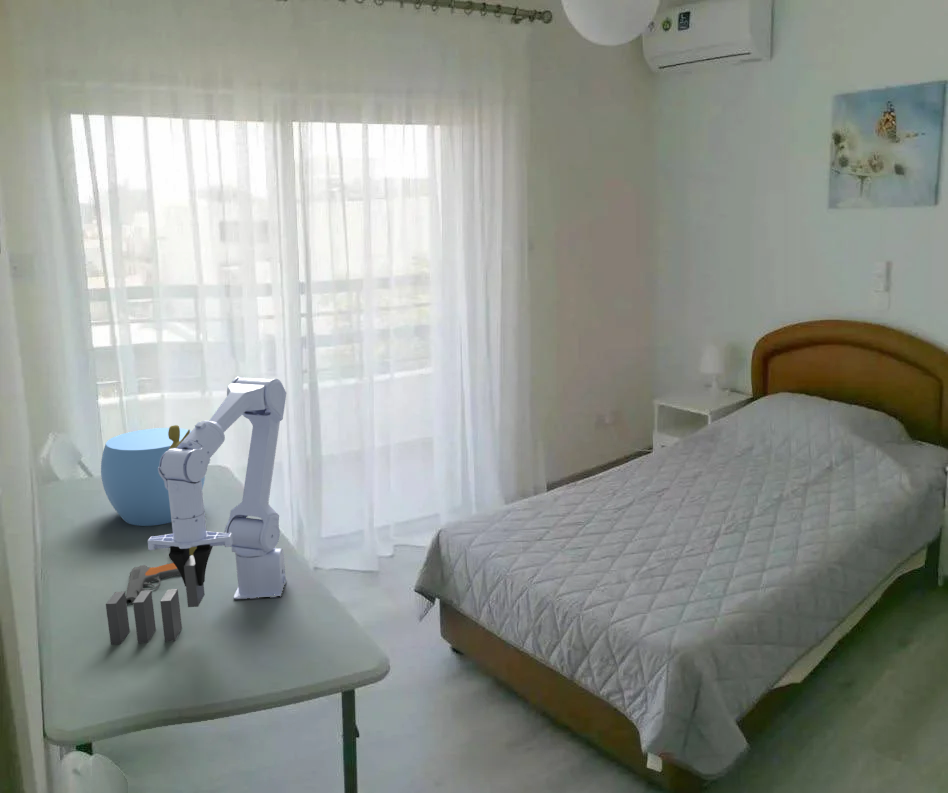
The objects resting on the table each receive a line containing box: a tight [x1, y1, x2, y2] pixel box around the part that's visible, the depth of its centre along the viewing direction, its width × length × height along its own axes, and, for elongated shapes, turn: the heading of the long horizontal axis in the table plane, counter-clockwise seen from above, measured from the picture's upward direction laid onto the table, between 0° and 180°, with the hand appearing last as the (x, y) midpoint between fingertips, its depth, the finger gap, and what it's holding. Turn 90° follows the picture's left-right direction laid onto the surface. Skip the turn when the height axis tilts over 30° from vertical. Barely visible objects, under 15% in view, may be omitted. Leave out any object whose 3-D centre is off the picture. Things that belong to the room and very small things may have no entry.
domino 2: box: [159, 588, 183, 643], centre depth 153 cm, size 2×5×8 cm, turn 4°
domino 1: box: [132, 590, 157, 644], centre depth 153 cm, size 2×5×8 cm, turn 4°
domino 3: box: [184, 555, 205, 608], centre depth 152 cm, size 2×5×8 cm, turn 4°
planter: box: [100, 427, 206, 527], centre depth 215 cm, size 25×25×20 cm
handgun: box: [125, 562, 181, 605], centre depth 176 cm, size 2×16×12 cm
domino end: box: [105, 591, 131, 645], centre depth 153 cm, size 2×5×8 cm, turn 4°
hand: (194, 583), depth 153 cm, fingers closed on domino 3, 2 cm apart
